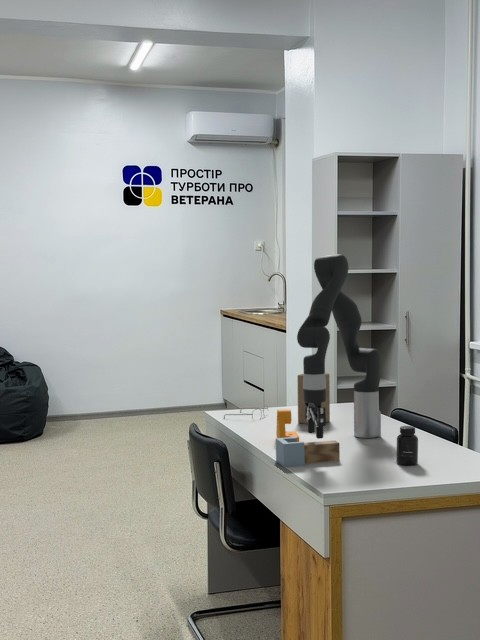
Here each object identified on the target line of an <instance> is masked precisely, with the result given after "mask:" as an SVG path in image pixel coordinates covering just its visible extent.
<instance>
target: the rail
mask: <svg viewBox="0 0 480 640" xmlns="http://www.w3.org/2000/svg"><path fill="white" fill-rule="evenodd" d="M340 453H341V452H340V442H338V441H337V440H325V441H322V440H321V441H310V442H309V441H308V442H306V441H305V442H304V456H305V464H313V463H314V464H315V463H318V464H319V463H330V462H340V457H341V456H340Z"/></svg>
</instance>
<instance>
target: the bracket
mask: <svg viewBox="0 0 480 640" xmlns="http://www.w3.org/2000/svg"><path fill="white" fill-rule="evenodd" d="M291 424H292V410H291V408H290V409H289V408H288V409H287V408H286V409H285V408H283V409H282V408H281V409H277V410H276V438H288V437H297V442H300V436H299V434H298V432H297V431H293V430H289V431H288V430H287V431H286V425H291Z"/></svg>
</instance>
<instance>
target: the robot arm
mask: <svg viewBox="0 0 480 640" xmlns="http://www.w3.org/2000/svg"><path fill="white" fill-rule="evenodd" d="M313 269H314V273H315V277H316V279H317V281H318V283H319V285H320V287H321V291H319V293H318V294H317V295H316V296H315V298H314V299H313V301H312V304H311V306H310V310H309V312H308V316H307V317H306V318H305V320H304V321H303V322H302V325H301V326H300V327H299V329H298V331H297V335H296V340H297V343H298V345H299V346H300V347H301V348H303V349H304V348H305V349H317V350H316V353H313V354H308V355H305V356H304V357H303V363H302V364H303V367H302V369H303V374H304V375H303V400H304V401H305V419H307V422H308V424H307V433H308V434H315V437H316V439H323V438H324V427H325V426H327V422H326V412H325V407H324V408H322V406H321V403H322V402H325V401H326V378H325V373H326V366H325V365H326V363H325V362H326V357H327V356H326V355H327V351H328V348H329V347H328V346H329V344H330V339H331V335H330V331H329V329H328V328H327V327H326V326H328V324H329V323H330V322H329V321H330V319H331V316H332V315H333V318H334V319H333V320H334V321H335V323H336V327H337V329H338V331H339V333H340V336H341V340H342V342H343V345H344V349H345V352H346V353H345V354H346V357H347V360H348V364H349V367H350V368H351V370H352V371H353V372H356V373H363V374H364V373H365V378H364V379H362V380H359V381H356V382H354V384H353V426H354V427H353V436H355V437H356V438H361V439H373V438H378V437H381V436H382V412H381V410H380V406H379V405H380V403H379V401H380V399H379V394H380V393H379V391H380V390H379V388H380V387H379V386H380V381H381V380H380V379H381V363H382V361H381V354H380V352H379V350H378V349H377V348H365V347H360V345H359V343H358V339H357V338H358V334H359V332H360V329H361V327H362V321H363V320H362V317H361V313H360V311H359V308H358V306H357V304H356V302H355V301H354V300H353V299H352V298H350V296H349V295H347V294H346V293H344V292H343V291H342V288H343V286H344V283H345V281H346V279H347V278H348V274H349V262H348V259H347V257H346V256H345V255H344V254H341V253H340V254H339V253H338V254H330V255H329V254H328V255H322V256H318V257H316V258H315V260H314V261H313ZM313 421H315V422H313ZM320 421H321V422H320ZM315 424H316V425H315Z"/></svg>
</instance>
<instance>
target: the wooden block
mask: <svg viewBox="0 0 480 640" xmlns="http://www.w3.org/2000/svg"><path fill="white" fill-rule="evenodd" d="M303 375H304V373H301V374H298V375H297V423H298V424H304V425H308V422H307V419H305V401H304V400H303ZM325 378H326V401H325V402H322V403H321V406H322V408H324V407H325V412H326V423H328V422H330V420H331V419H330V417H331V413H330V412H331V411H330V407H331V406H330V405H331V403H330V401H331V398H330V389H331V388H330V387H331V386H330V374H329V373H327V372H325ZM313 422H315V421H313ZM320 422H321V421H320ZM315 426H316V424H315Z"/></svg>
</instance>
